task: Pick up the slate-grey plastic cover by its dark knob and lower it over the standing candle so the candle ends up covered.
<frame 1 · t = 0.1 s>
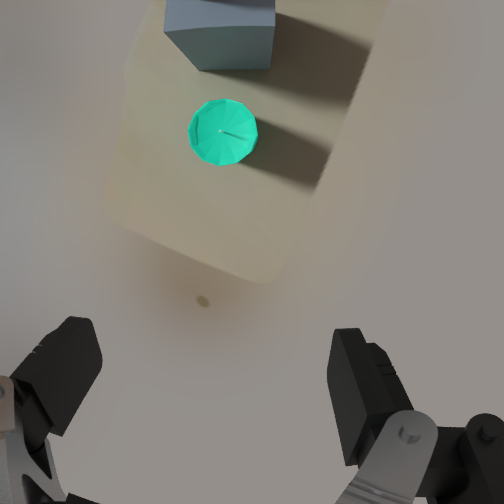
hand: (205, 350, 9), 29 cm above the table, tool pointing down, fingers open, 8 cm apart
cover: (234, 38, 30), on the table
candle: (233, 135, 35), on the table
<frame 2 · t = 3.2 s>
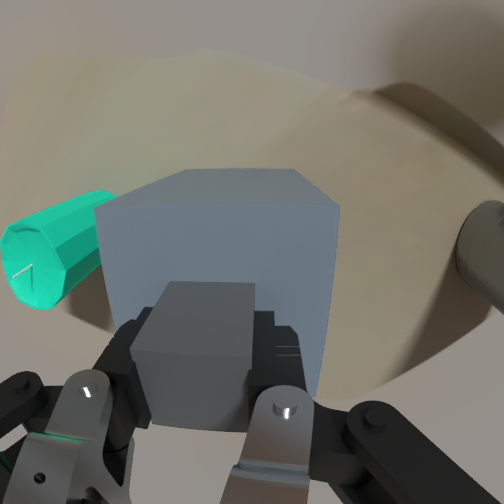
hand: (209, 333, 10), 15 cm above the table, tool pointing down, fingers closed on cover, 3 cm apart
cover: (239, 221, 25), on the table, touching gripper
candle: (101, 222, 25), on the table
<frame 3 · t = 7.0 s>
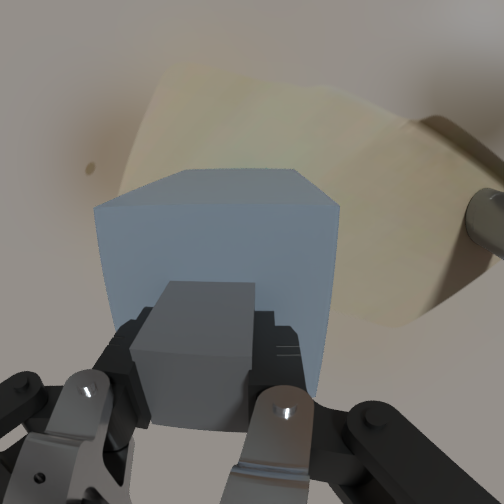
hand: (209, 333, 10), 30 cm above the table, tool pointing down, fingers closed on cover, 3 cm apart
cover: (239, 221, 25), point 15 cm above the table, touching gripper
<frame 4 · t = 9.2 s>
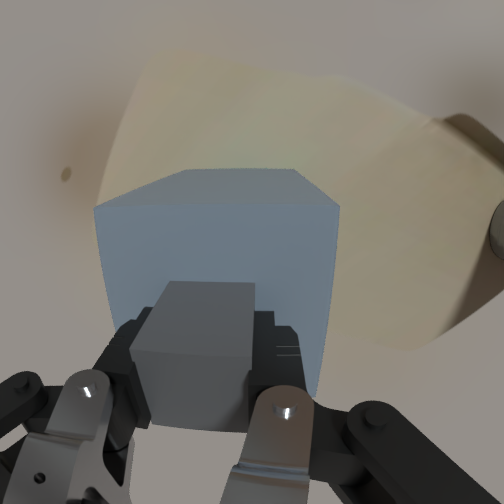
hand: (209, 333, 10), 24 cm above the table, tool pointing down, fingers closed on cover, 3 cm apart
cover: (239, 221, 25), point 8 cm above the table, touching gripper
when the fingers open (16 cm above the table, at t = 11.1 s): cover drops 1 cm, on the table.
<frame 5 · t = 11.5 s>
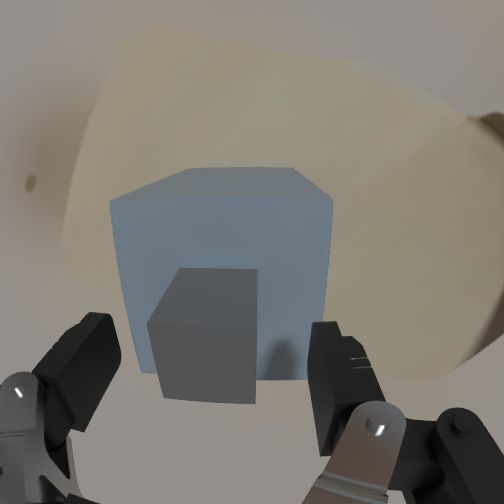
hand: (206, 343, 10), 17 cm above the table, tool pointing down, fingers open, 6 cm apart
cover: (241, 217, 26), on the table
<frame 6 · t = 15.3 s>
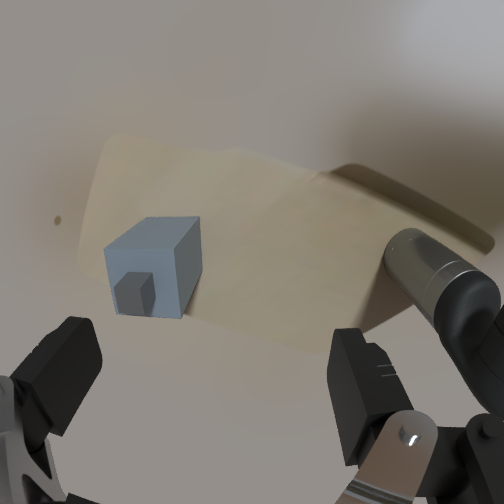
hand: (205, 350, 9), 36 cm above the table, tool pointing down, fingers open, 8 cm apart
cover: (174, 243, 46), on the table
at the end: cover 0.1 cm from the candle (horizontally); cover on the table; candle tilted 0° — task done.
